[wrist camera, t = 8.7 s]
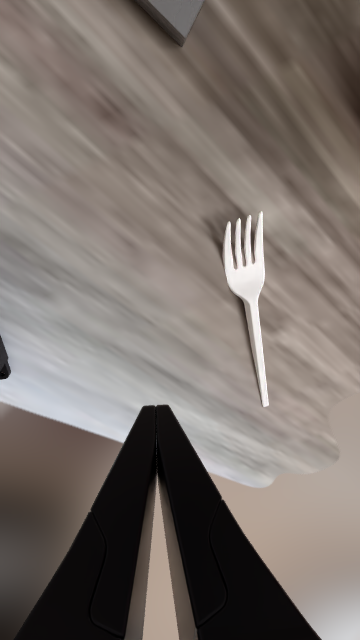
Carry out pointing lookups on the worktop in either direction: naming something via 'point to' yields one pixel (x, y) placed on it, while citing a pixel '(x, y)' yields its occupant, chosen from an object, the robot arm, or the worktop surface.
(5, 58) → the worktop surface
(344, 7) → the worktop surface
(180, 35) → the grey long blocky piece
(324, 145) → the worktop surface
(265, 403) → the fork
